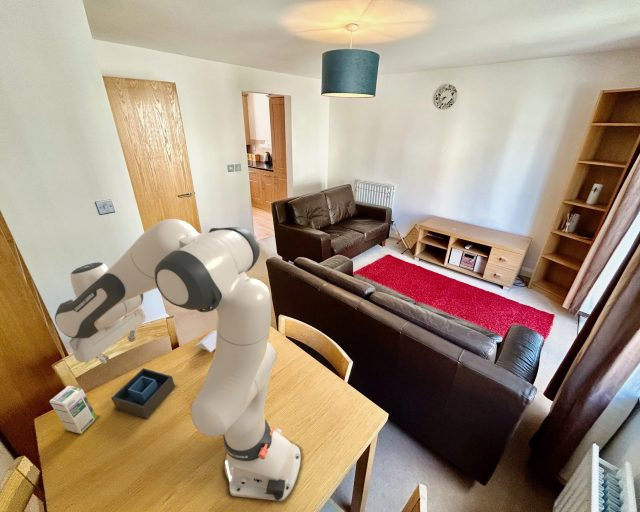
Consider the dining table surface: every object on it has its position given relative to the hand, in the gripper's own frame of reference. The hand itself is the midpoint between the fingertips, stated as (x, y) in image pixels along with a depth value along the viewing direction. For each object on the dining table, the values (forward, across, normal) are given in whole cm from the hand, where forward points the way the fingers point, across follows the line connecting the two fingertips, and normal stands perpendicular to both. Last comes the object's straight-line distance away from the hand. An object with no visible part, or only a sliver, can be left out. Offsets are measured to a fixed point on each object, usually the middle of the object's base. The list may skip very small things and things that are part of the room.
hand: (119, 350), depth 85 cm
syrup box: (+26, -11, +13) cm, 31 cm away
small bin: (+26, +3, +1) cm, 26 cm away
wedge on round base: (+26, +33, -7) cm, 43 cm away
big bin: (+26, +3, +1) cm, 26 cm away
